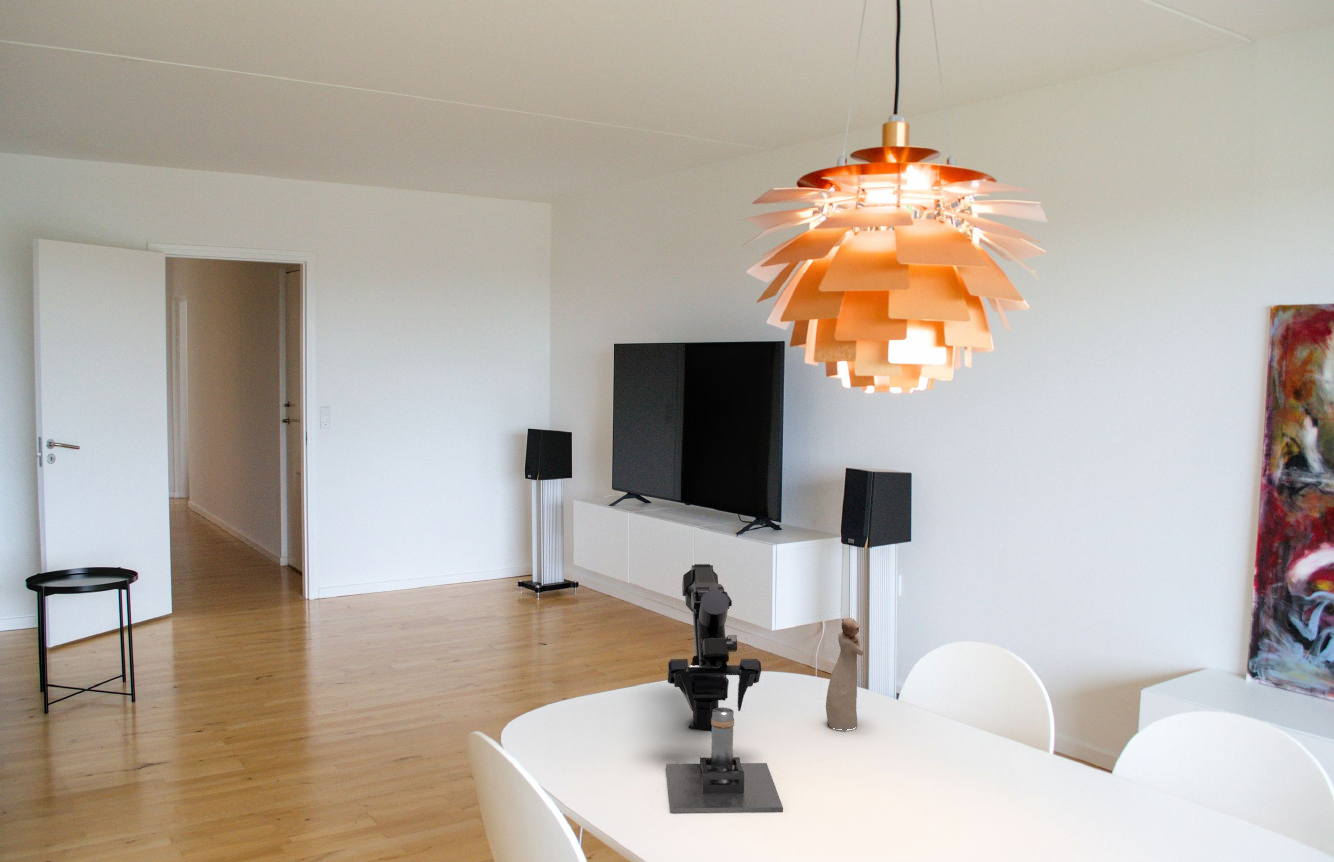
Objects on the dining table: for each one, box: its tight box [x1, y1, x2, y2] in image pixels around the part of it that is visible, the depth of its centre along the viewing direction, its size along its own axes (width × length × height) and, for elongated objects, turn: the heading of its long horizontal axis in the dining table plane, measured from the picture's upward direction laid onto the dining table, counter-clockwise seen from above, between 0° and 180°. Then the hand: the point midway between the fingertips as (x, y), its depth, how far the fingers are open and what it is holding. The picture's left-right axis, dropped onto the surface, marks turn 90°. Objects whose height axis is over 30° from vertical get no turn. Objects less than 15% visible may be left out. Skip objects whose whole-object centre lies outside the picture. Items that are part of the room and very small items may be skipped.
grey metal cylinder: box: [710, 707, 735, 783], centre depth 181 cm, size 4×4×14 cm
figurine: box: [825, 617, 864, 730], centre depth 215 cm, size 8×8×25 cm
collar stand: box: [665, 756, 784, 814], centre depth 181 cm, size 20×20×4 cm
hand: (716, 710), depth 191 cm, fingers open, 9 cm apart
